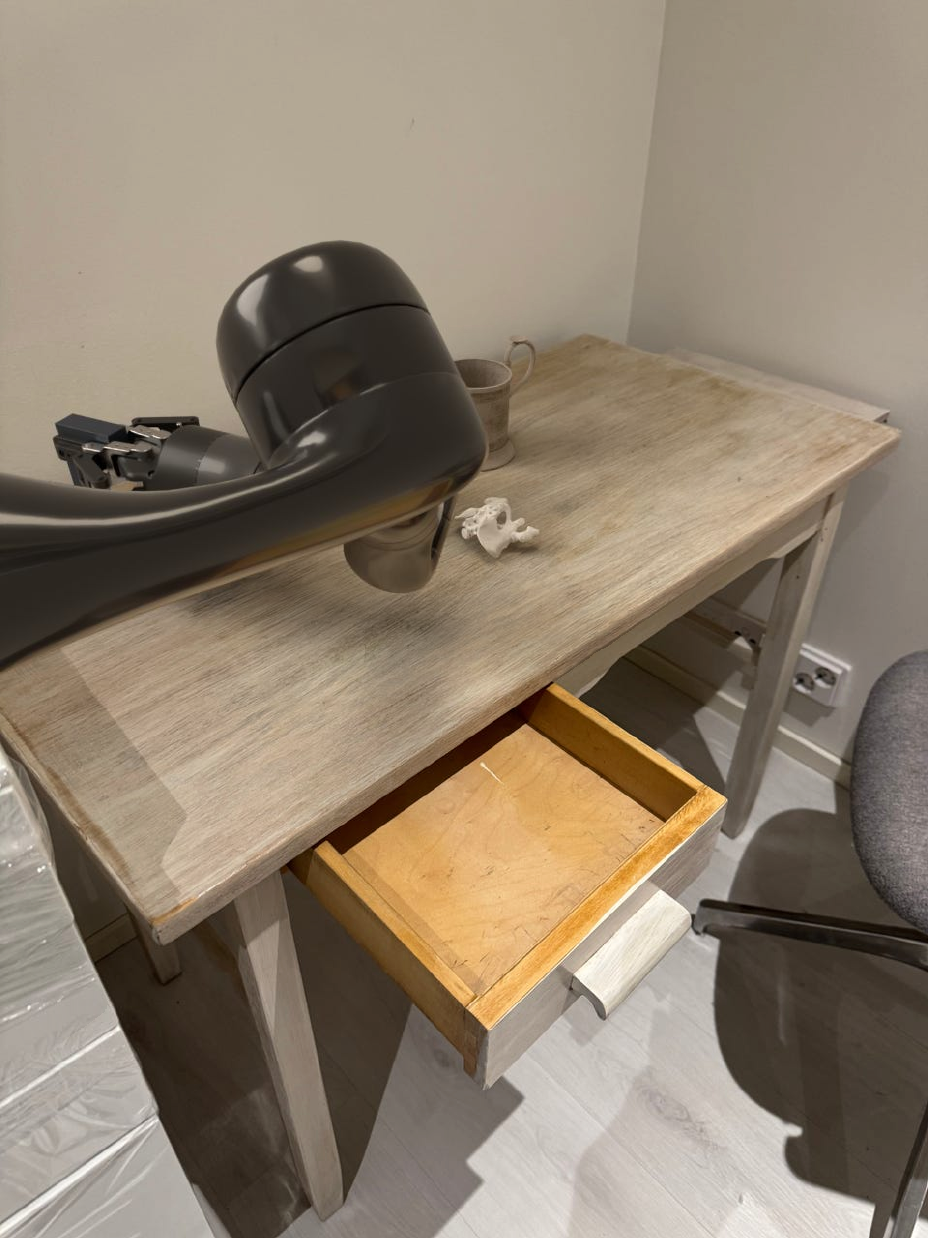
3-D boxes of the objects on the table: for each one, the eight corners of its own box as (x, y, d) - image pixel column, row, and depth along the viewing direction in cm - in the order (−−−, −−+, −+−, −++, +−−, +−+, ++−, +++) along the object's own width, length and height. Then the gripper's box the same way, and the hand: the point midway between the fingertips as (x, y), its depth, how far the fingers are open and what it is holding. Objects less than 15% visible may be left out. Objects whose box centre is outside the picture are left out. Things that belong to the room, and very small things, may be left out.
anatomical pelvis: (545, 519, 87) (485, 531, 84) (539, 555, 89) (481, 568, 87) (504, 481, 92) (447, 491, 89) (499, 516, 95) (443, 527, 92)
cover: (117, 565, 79) (86, 460, 73) (44, 542, 82) (7, 439, 76) (189, 509, 87) (167, 409, 80) (120, 490, 89) (92, 392, 83)
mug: (469, 480, 100) (470, 378, 92) (414, 448, 106) (411, 350, 98) (559, 441, 107) (567, 344, 100) (503, 413, 113) (507, 319, 106)
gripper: (269, 404, 77) (112, 369, 83) (165, 477, 67) (-6, 433, 73) (280, 480, 82) (131, 442, 87) (184, 559, 72) (23, 511, 78)
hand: (70, 438), depth 80 cm, fingers closed on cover
